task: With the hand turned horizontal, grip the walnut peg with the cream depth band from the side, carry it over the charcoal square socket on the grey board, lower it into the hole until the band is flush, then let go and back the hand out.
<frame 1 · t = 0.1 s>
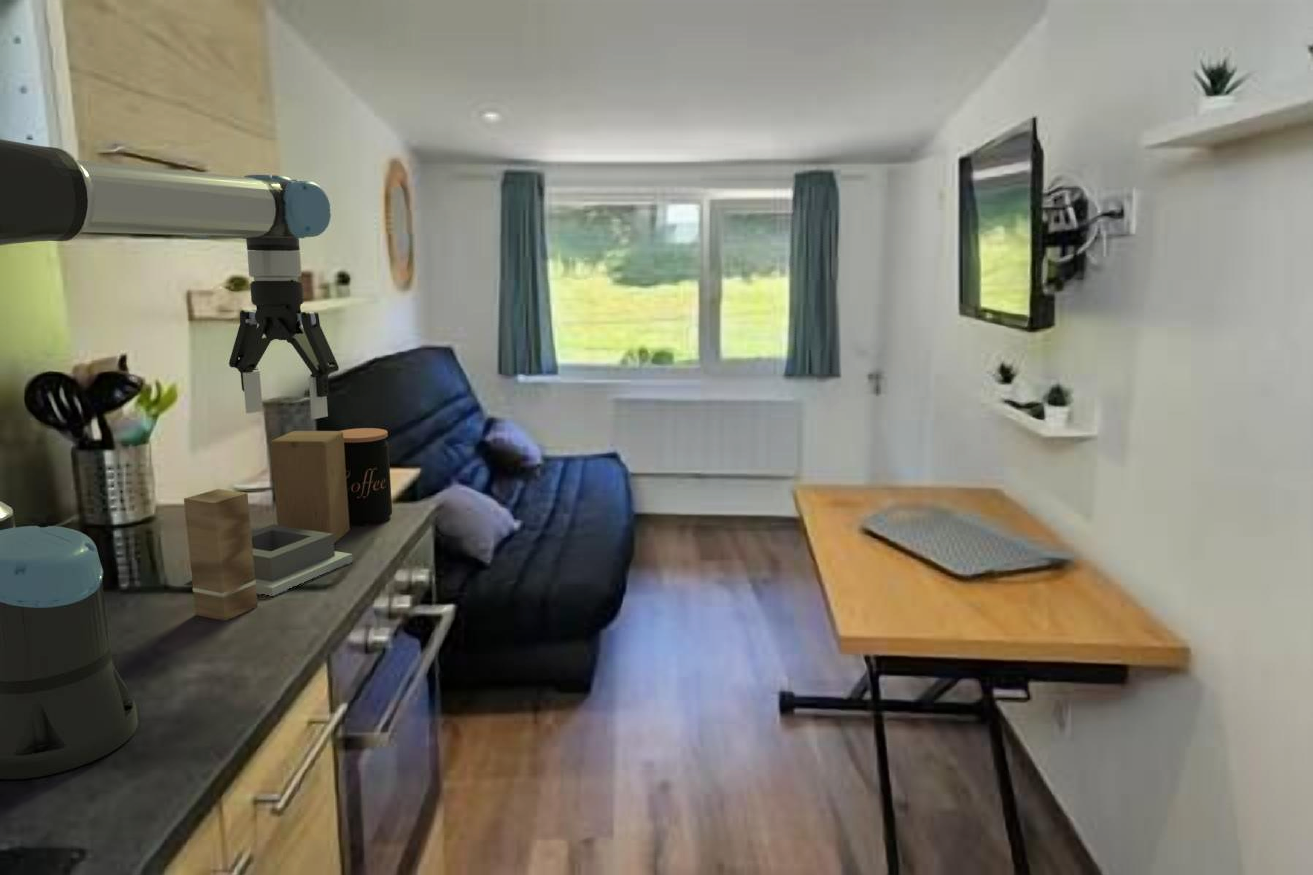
hand: (286, 415, 143), 28 cm above the counter, tool pointing down, fingers open, 13 cm apart
coffee jar: (365, 520, 184), on the counter
socket board: (274, 571, 153), on the counter
wooden block: (315, 539, 171), on the counter
walnut peg: (227, 610, 136), on the counter
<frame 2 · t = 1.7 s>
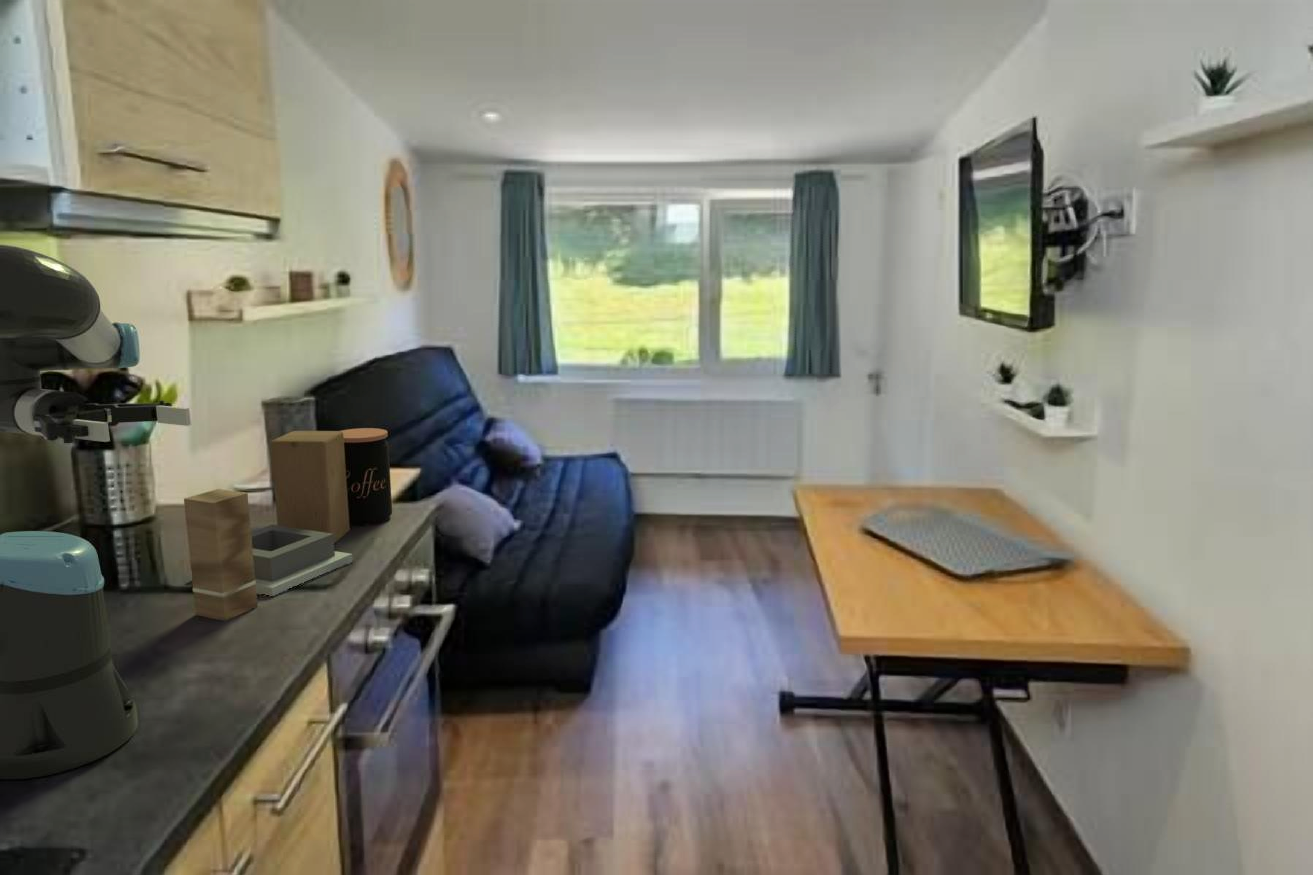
hand: (149, 424, 136), 28 cm above the counter, tool horizontal, fingers open, 13 cm apart
nothing on the counter moved.
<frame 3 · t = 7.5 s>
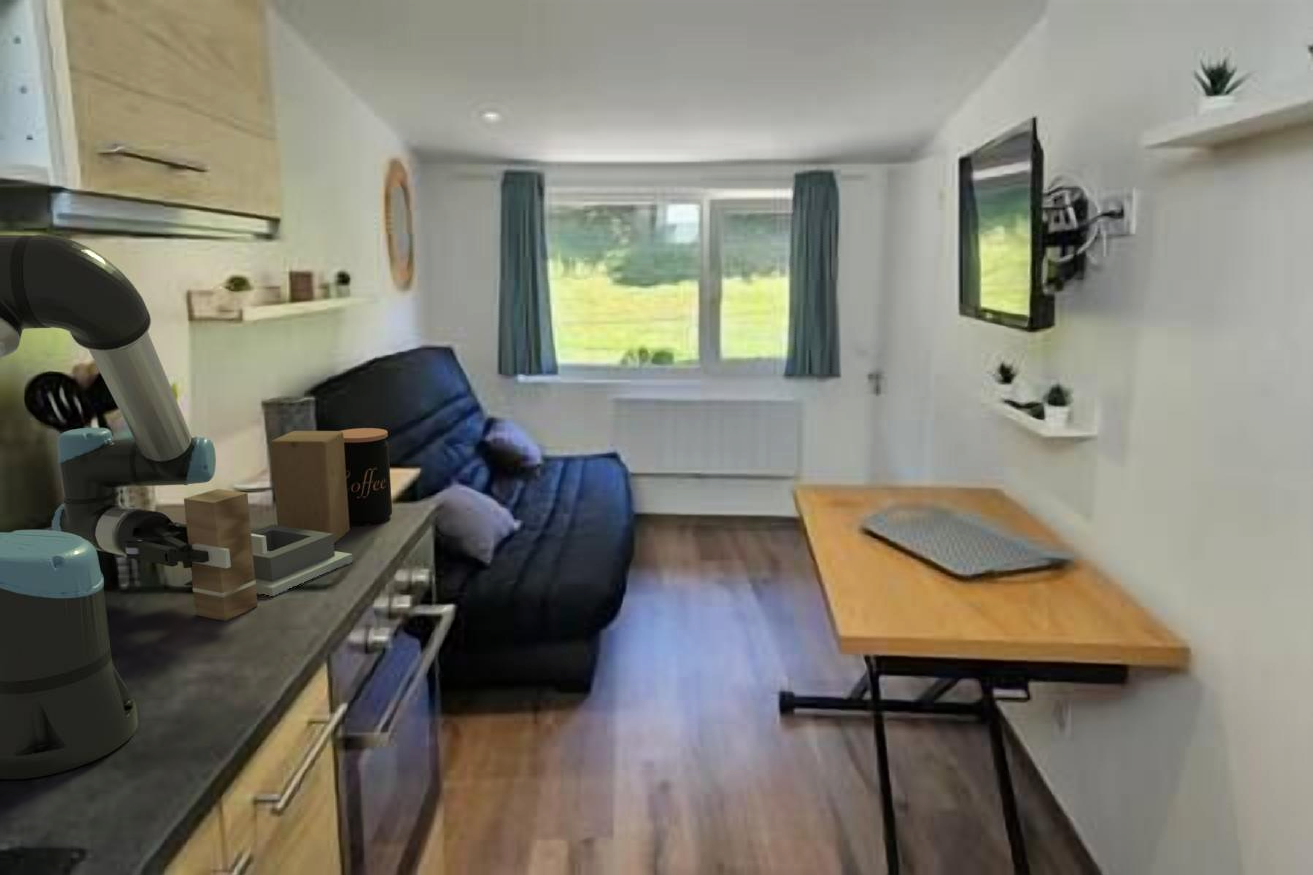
hand: (246, 551, 132), 10 cm above the counter, tool horizontal, fingers closed on walnut peg, 6 cm apart
walnut peg: (227, 610, 136), on the counter, touching gripper
everything else where it was.
when the fingers open (12 cm above the counter, at t = 14.2 s): walnut peg stays where it is, resting on socket board.
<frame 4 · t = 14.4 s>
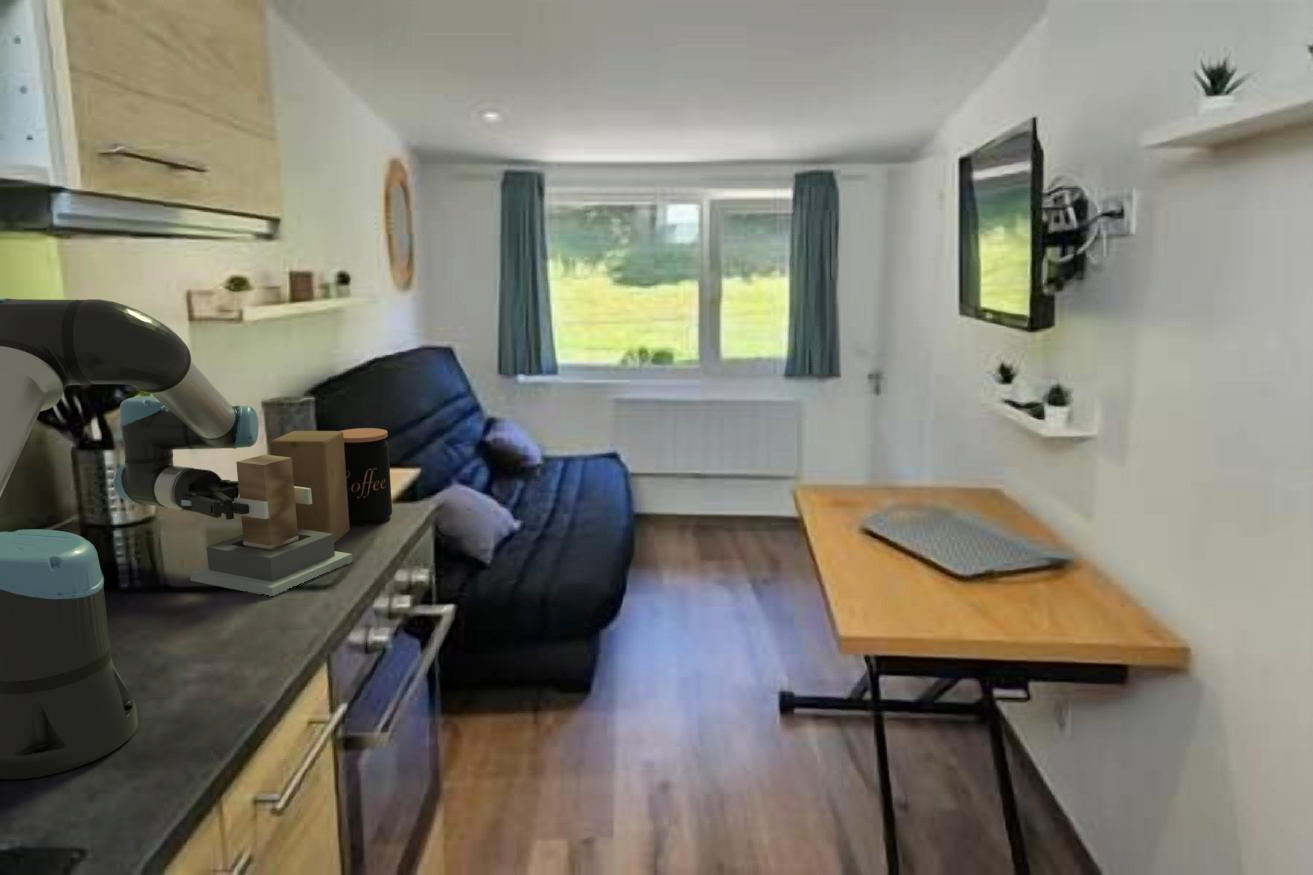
hand: (288, 503, 149), 12 cm above the counter, tool horizontal, fingers open, 9 cm apart
walnut peg: (273, 562, 153), point 1 cm above the counter, touching socket board
everything else where it was.
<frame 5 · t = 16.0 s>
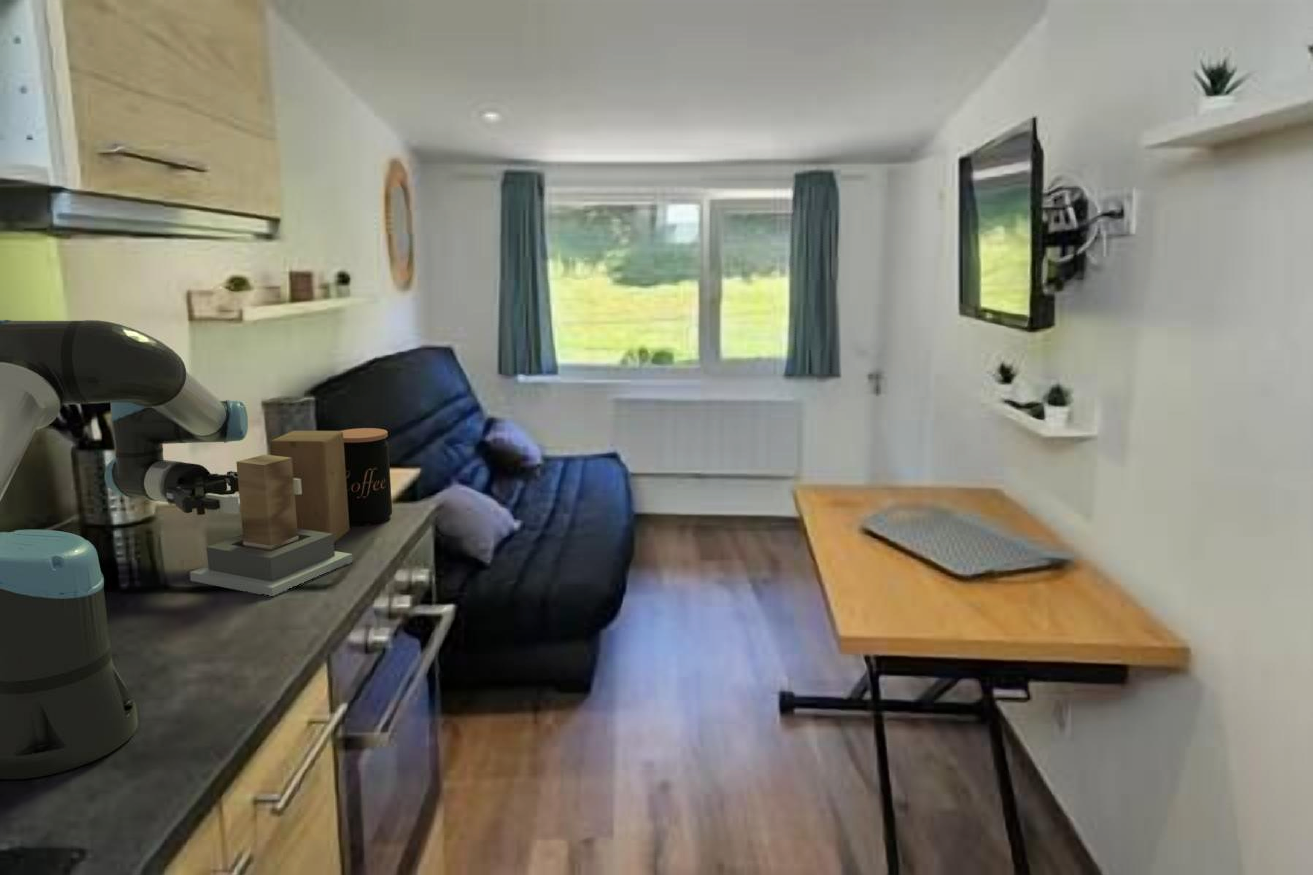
hand: (269, 495, 152), 13 cm above the counter, tool horizontal, fingers open, 13 cm apart
wooden block: (315, 539, 171), on the counter, touching gripper, hand
everything else where it was.
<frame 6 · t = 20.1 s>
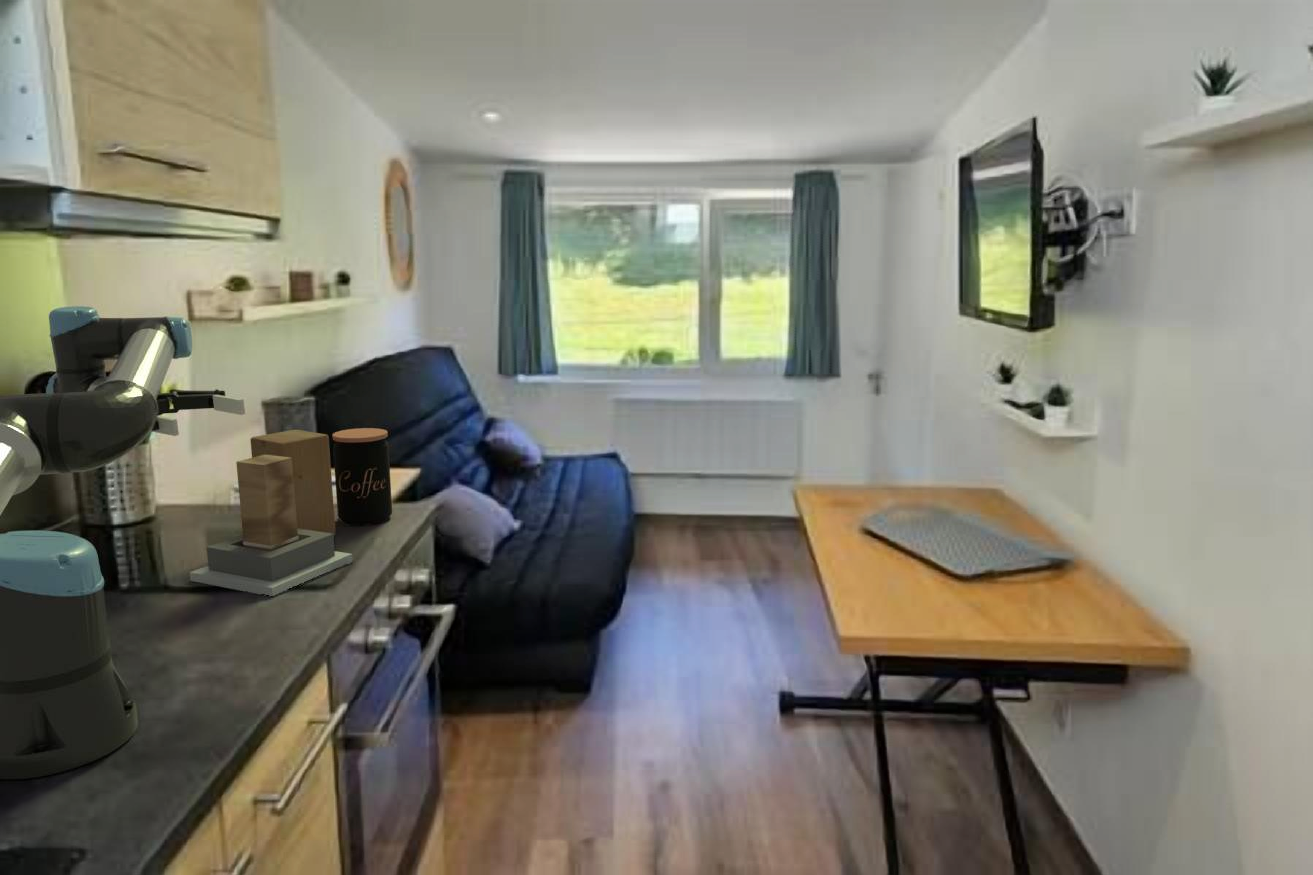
hand: (211, 417, 152), 26 cm above the counter, tool horizontal, fingers open, 13 cm apart
wooden block: (297, 539, 171), on the counter
everything else where it was.
at the end: walnut peg 0.1 cm off-centre on the socket board, point 1.5 cm above the socket board's base; walnut peg tilted 0°; the gripper is holding nothing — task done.
